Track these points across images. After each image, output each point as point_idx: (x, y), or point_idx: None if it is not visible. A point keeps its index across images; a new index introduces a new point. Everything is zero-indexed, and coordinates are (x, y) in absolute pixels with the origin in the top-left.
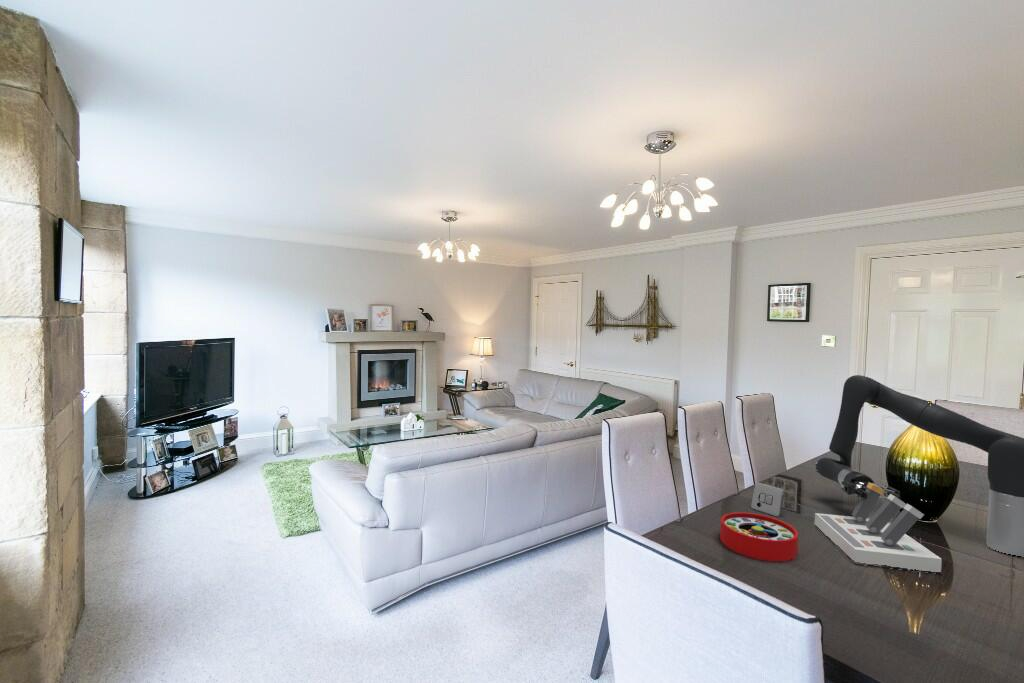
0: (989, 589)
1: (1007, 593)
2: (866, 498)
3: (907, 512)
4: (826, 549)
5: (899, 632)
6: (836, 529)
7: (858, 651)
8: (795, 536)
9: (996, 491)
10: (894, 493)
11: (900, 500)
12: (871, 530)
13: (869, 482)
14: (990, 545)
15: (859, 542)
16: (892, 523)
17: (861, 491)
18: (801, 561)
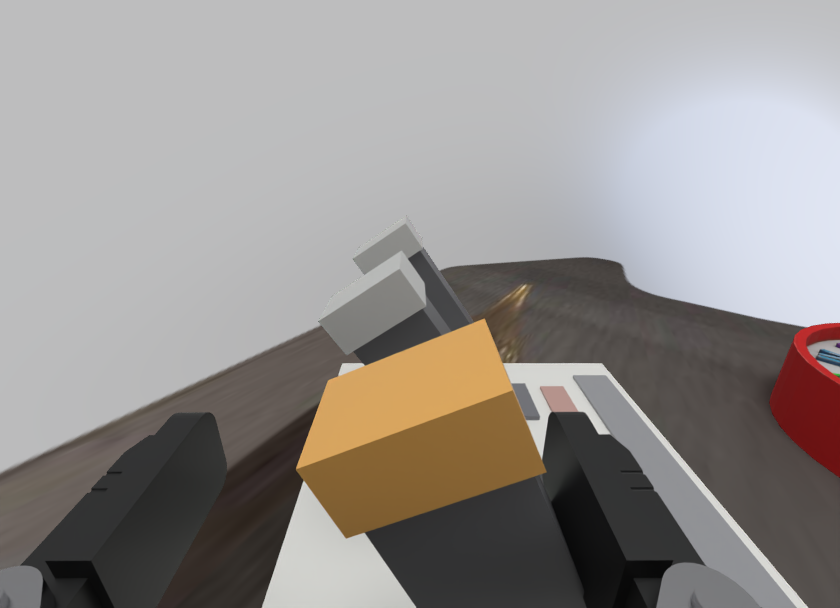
0: (279, 370)
1: (251, 364)
2: (546, 463)
3: (423, 247)
4: (703, 482)
5: (545, 283)
6: (704, 499)
7: (596, 266)
8: (803, 350)
9: None
10: (123, 483)
11: (368, 275)
12: None
13: (508, 379)
14: None
15: (585, 404)
16: (468, 320)
17: (615, 482)
18: (741, 391)
